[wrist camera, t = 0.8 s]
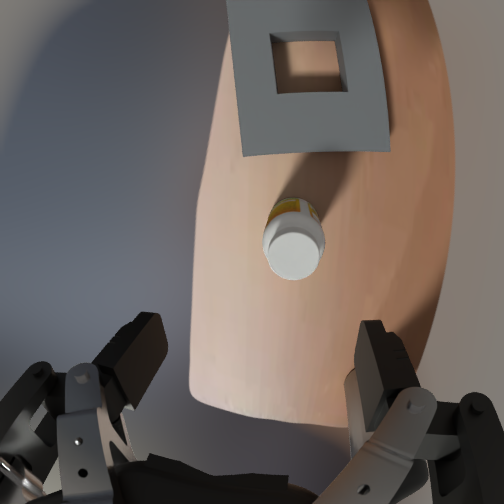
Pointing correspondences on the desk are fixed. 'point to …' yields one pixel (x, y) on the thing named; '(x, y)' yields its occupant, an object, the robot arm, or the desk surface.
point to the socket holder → (307, 103)
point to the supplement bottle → (293, 239)
